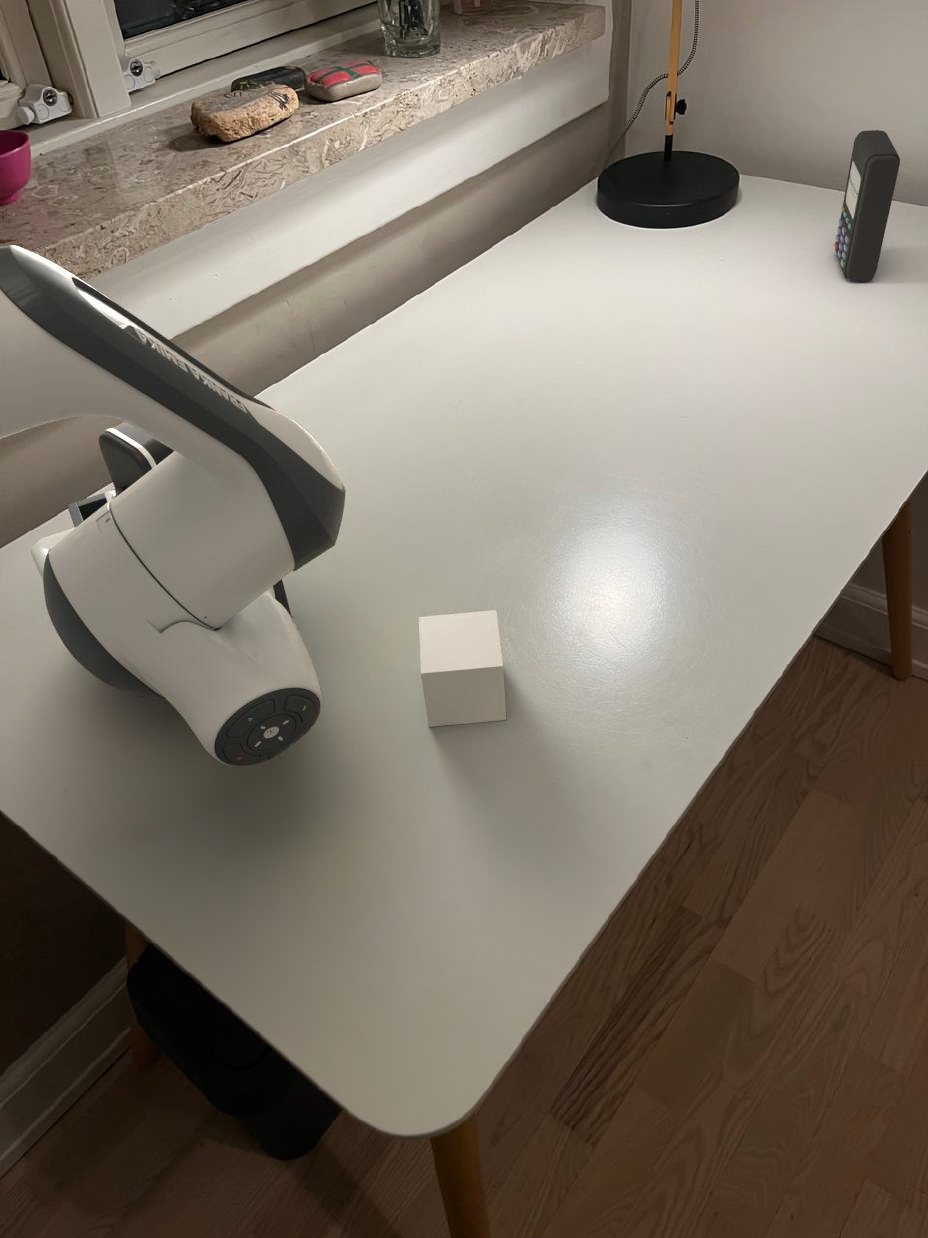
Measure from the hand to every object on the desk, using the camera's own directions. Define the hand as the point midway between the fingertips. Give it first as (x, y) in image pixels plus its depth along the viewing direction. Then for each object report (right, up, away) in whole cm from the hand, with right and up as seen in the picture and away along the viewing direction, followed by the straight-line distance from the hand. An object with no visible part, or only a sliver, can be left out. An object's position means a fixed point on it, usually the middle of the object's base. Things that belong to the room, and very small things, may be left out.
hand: (152, 484), depth 82 cm
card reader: (+73, +33, +46) cm, 93 cm away
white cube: (+25, -17, -1) cm, 30 cm away
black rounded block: (+1, -5, +4) cm, 6 cm away
